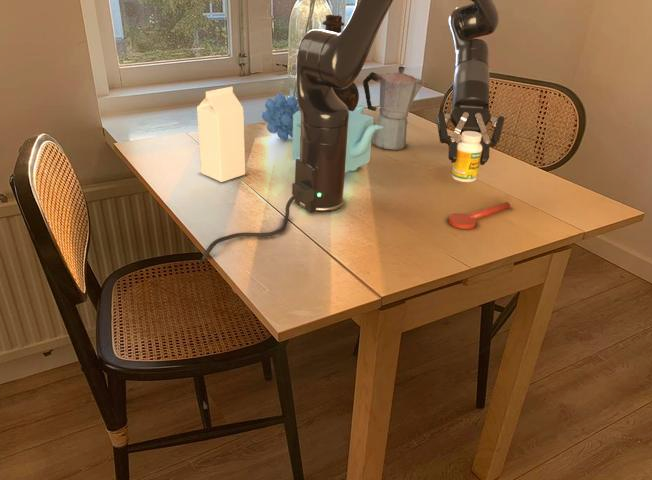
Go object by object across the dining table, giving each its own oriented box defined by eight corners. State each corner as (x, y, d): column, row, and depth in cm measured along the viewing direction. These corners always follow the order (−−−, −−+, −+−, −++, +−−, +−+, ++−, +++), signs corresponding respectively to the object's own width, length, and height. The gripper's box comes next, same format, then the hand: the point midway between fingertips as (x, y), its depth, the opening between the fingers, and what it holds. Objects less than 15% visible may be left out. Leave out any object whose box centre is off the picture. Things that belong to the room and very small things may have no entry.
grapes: (265, 145, 150) (265, 98, 143) (260, 137, 155) (260, 91, 149) (309, 143, 153) (310, 97, 146) (303, 135, 158) (304, 90, 152)
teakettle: (289, 154, 145) (290, 94, 137) (363, 154, 147) (369, 95, 139) (295, 184, 129) (296, 118, 121) (378, 184, 131) (384, 119, 123)
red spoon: (498, 203, 125) (500, 197, 124) (518, 212, 122) (519, 206, 121) (443, 221, 117) (444, 214, 116) (462, 231, 113) (464, 224, 112)
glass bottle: (291, 110, 178) (293, 9, 163) (347, 108, 182) (354, 10, 167) (304, 128, 163) (307, 19, 148) (364, 126, 167) (374, 20, 152)
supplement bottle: (460, 171, 127) (468, 127, 122) (481, 178, 124) (490, 134, 119) (445, 177, 124) (453, 132, 119) (467, 185, 121) (476, 139, 115)
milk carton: (245, 175, 133) (243, 89, 123) (221, 183, 128) (216, 95, 118) (225, 166, 137) (221, 83, 127) (201, 173, 132) (195, 88, 122)
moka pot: (418, 152, 150) (429, 72, 140) (358, 149, 150) (365, 69, 139) (414, 140, 158) (424, 63, 148) (357, 137, 158) (363, 60, 147)
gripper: (440, 76, 120) (436, 152, 117) (510, 80, 120) (509, 157, 116) (433, 95, 128) (430, 167, 124) (500, 100, 127) (498, 172, 123)
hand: (468, 162), depth 120 cm, fingers closed on supplement bottle, 5 cm apart
